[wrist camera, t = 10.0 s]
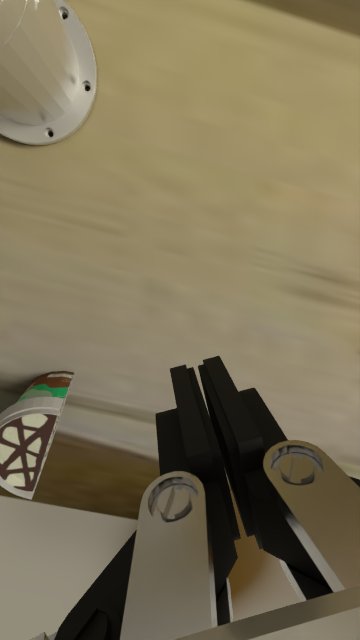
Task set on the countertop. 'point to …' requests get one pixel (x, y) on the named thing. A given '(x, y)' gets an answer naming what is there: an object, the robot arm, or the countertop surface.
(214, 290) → the countertop surface
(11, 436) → the food container
